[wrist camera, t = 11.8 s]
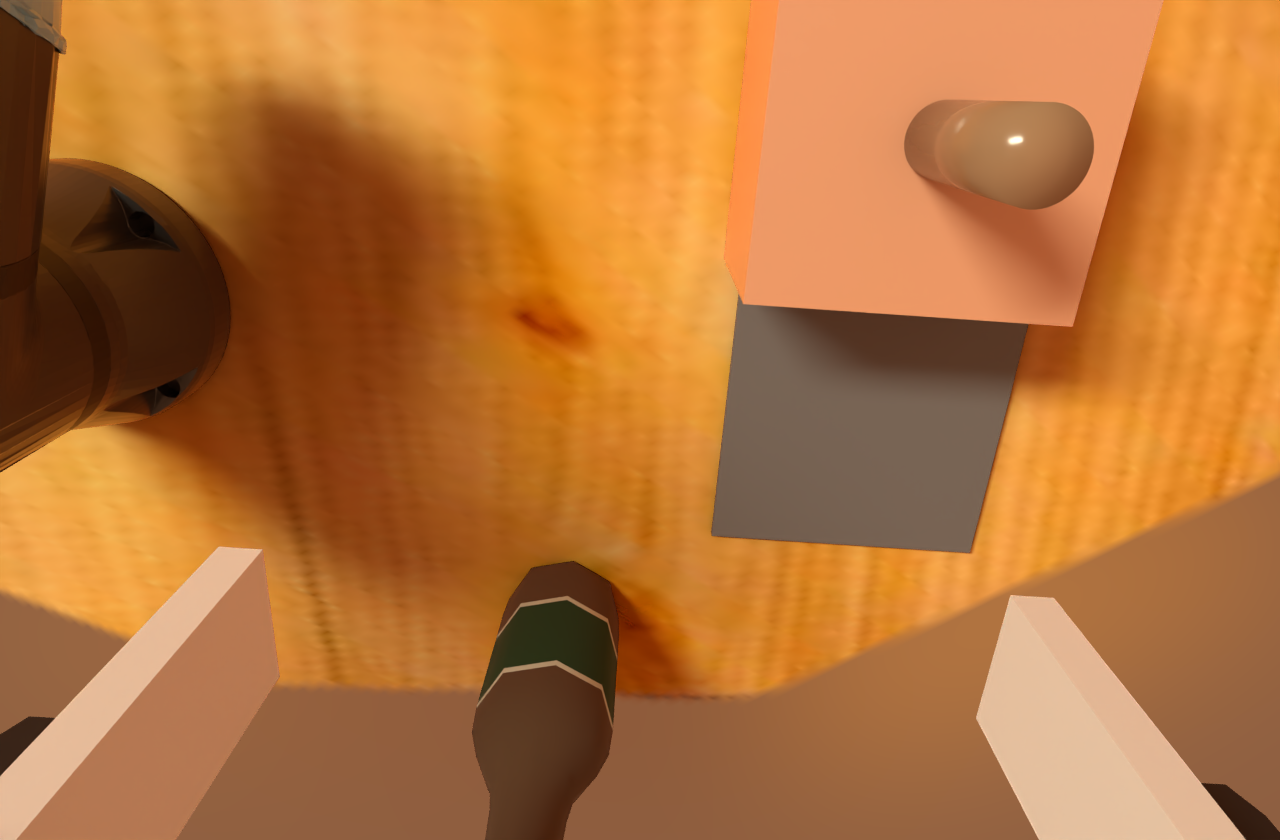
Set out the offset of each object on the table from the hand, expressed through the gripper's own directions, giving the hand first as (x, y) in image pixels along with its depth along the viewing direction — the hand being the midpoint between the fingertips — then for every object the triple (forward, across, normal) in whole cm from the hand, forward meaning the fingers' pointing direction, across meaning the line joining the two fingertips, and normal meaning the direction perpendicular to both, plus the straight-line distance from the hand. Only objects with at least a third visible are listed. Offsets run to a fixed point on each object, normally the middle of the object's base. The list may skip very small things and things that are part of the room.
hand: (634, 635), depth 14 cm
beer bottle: (+35, -4, -24) cm, 43 cm away
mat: (+35, +14, -9) cm, 38 cm away
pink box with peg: (+35, +12, +8) cm, 37 cm away
